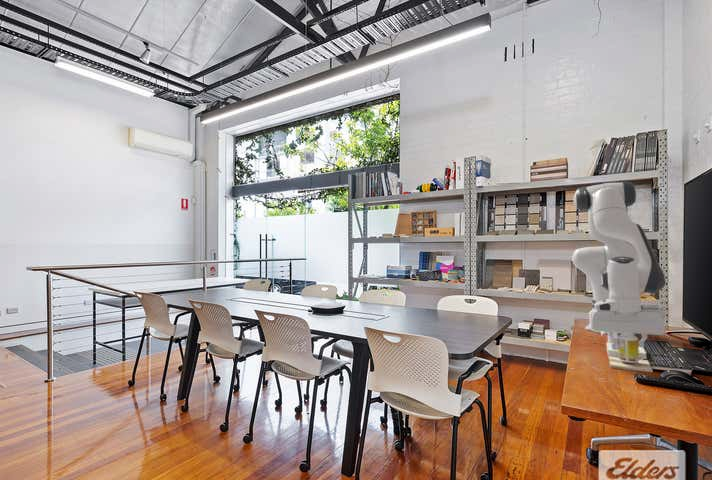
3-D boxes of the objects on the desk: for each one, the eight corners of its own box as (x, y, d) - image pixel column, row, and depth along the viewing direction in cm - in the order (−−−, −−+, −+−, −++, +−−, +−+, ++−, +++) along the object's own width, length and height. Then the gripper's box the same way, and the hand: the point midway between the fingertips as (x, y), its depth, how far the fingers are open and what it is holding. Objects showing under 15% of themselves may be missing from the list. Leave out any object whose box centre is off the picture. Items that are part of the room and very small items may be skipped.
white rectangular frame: (606, 349, 144) (606, 342, 144) (642, 351, 138) (641, 345, 138) (608, 357, 135) (608, 350, 135) (646, 360, 129) (646, 353, 129)
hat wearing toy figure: (625, 344, 149) (623, 314, 149) (628, 346, 145) (626, 316, 146) (599, 342, 153) (597, 313, 153) (601, 345, 149) (599, 315, 149)
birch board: (608, 358, 133) (608, 356, 133) (647, 362, 127) (647, 359, 127) (610, 368, 123) (610, 365, 123) (652, 372, 118) (652, 369, 118)
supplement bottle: (641, 360, 125) (639, 330, 125) (636, 364, 121) (634, 333, 122) (621, 357, 129) (620, 327, 129) (616, 360, 126) (614, 330, 126)
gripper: (662, 304, 123) (665, 346, 123) (590, 302, 134) (592, 340, 133) (666, 307, 118) (669, 351, 117) (590, 305, 128) (593, 345, 128)
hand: (628, 345), depth 125 cm, fingers closed on supplement bottle, 5 cm apart
